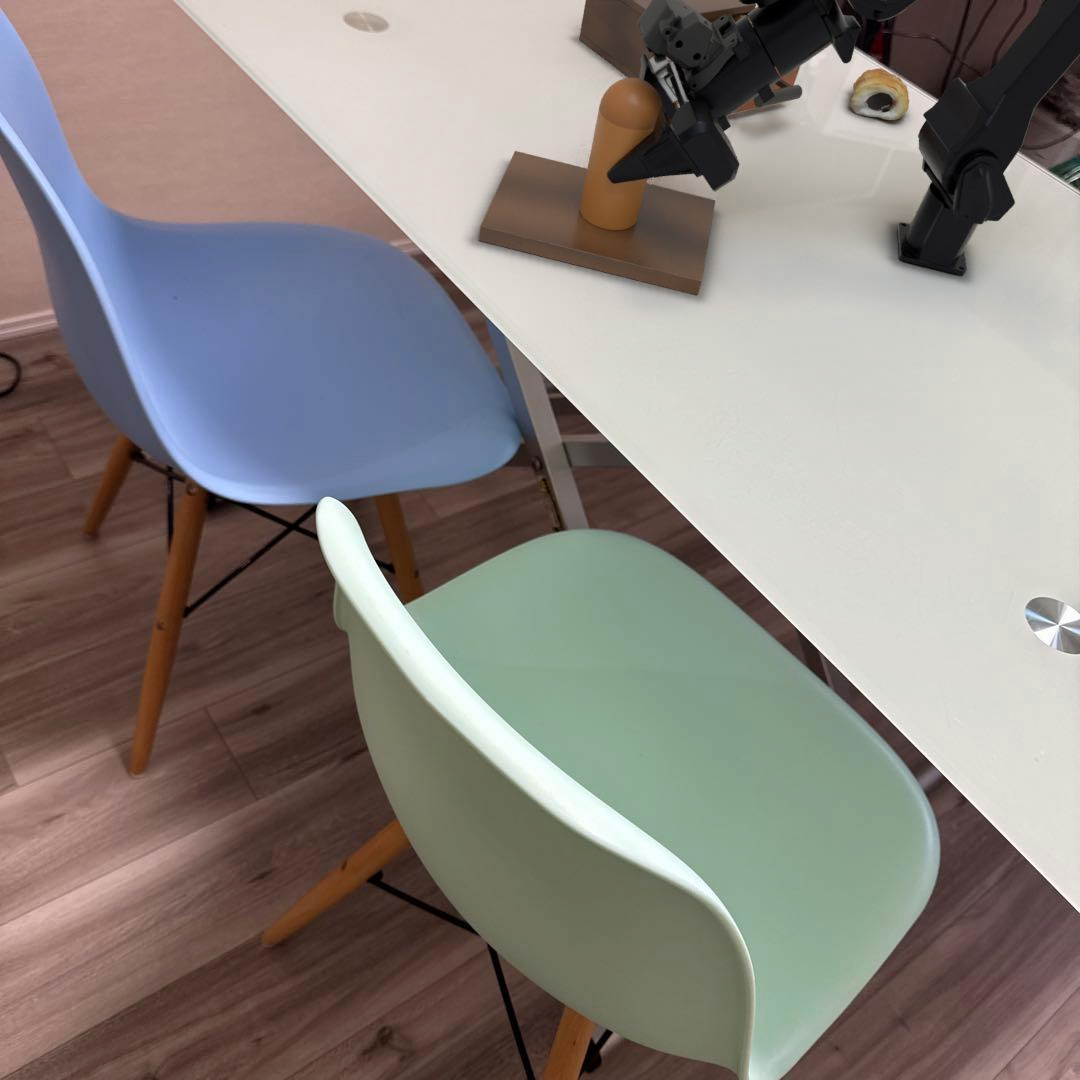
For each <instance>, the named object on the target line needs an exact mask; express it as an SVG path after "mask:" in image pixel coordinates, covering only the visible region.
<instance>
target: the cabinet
mask: <svg viewBox="0 0 1080 1080" xmlns="http://www.w3.org/2000/svg"><path fill="white" fill-rule="evenodd" d="M651 1H652V0H585V3H584V7H583V14H582V20H581V26H580V31H579V32H580V33H579V37H578V41H580V42H582V43H583V44H584V45H586V46H587V47H588V48H589V49H591V50H592V51H593V52H595V53H596V54H598V56H600V57H601V58H603V60H605V61H606V62H608V63H609V64H610V65H611V66H613V67H614V68H615V69H617V70H618V71H620V72H621V73H622V74H623V75H624V76H626V77H627V78H639V76H640V70H641V57H642V55H643V53H644V54H645V55H646V57H647V58H648V60H649V59H651V58H652V57H653V56H655V55H654V53H653V52H650V53H649V51H648V50H647V48H646V46H645V43H644V41H643V39H642V35H641V34H642V33H643V32H642V30H641V27H639V26H638V25H637V21H638V20H639V18H640V17H641V15H642V14H643V12H644V11H645V10H646V8H647V7H648V5H649V4H650V2H651ZM682 1H684V2H685V3H686V4H688V5H689V6H691V7H692V8H693V9H695V10H696V11H697V12H699V13H700V14H701V15H702V16H703V17H704V18H705V19H710V18H716V17H721V16H723V15H727V16H728V15H729V14H731V15H734V14H740V13H742V14H743V15H747V14H748V13H750V12H751V11H752V10H754V9H755V8H756V7H757V4H750V5H747V4H742V3H741V2H739V0H682ZM747 17H748V15H747ZM748 18H749V17H748Z"/></svg>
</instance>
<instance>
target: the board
mask: <svg viewBox="0 0 1080 1080" xmlns="http://www.w3.org/2000/svg"><path fill="white" fill-rule="evenodd" d="M587 168H588V167H583V166H578V165H574V164H570V163H567V162H563V161H559V160H554V159H550V158H546V157H543V156H538V155H535V154H534V155H533V154H530V153H526V152H522V151H518V150H514V152H513V154H512V156H511V158H510V160H509V163H508V165H507V167H506V170H505V172H504V173H503V175H502V178H501V180H500V182H499V184H498V187H497V188H496V192H495V193H494V196H493V197H492V200H491V202H490V204H489V206H488V208H487V211H486V212H485V215H484V217H483V220H482V221H481V224H480V226H479V235H478V241H479V242H483V243H487V244H491V245H494V246H499V247H502V248H507V249H510V250H514V251H517V252H518V251H519V252H523V253H526V254H529V255H530V254H531V255H535V256H538V257H544V258H546V259H551V260H555V261H559V262H563V263H568V264H572V265H575V266H579V267H582V268H587V269H590V270H595V271H599V272H603V273H607V274H611V275H615V276H619V277H622V278H626V279H631V280H635V281H639V282H644V283H647V284H650V285H651V284H652V285H654V286H659V287H664V288H666V289H667V288H668V289H671V290H675V291H678V292H679V291H680V292H683V293H688V294H692V295H695V296H698V295H699V292H700V289H701V286H702V282H703V278H704V271H705V265H706V260H707V253H708V247H709V241H710V237H711V229H712V222H713V218H714V213H715V212H714V211H715V205H716V199H712V198H708V197H704V196H700V195H696V194H691V193H688V192H684V191H681V190H675V189H672V188H668V187H663V186H659V185H656V184H651V183H648V182H646V186H645V190H644V194H643V198H642V202H641V206H640V210H639V215H638V219H637V222H636V223H635V224H634V225H633V226H632V227H630V228H628V229H624V230H607V229H603V228H600V227H597V226H595V225H593V224H591V223H589V222H588V221H586V220H585V219H584V218H583V216H582V215H581V213H580V204H581V199H582V194H583V189H584V183H585V178H586V173H587Z"/></svg>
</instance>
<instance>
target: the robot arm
mask: <svg viewBox="0 0 1080 1080" xmlns="http://www.w3.org/2000/svg"><path fill="white" fill-rule="evenodd" d="M917 1H918V0H847V2H848V3H849V5H850V6H851V7H852V9H853V10H854V11H855V13H857V14H858V15H859V16H860V17H862V18H863V19H867V20H874V21H876V22H884V21H887V20H890V19H892V18H894V17H896V16H899V15H900V14H902V13H903V12H904V11H905V10H907V9H909V7H910V6H912V5H913V4H914V3H916V2H917ZM739 2H741V3H742V4H747V5H750V4H756V7H755V9H754V10H752V11H751V12H750V13H748V14H747V15H748V17H749V19H750V21H751V22H752V24H753V26H754V27H753V26H752V24H751V22H750V21H749V19H748V17H747V15H745V16H744V17H743V18H741V19H740V20H738V21H737V22H736V23H735V21H734V19H733V18H732V16H731V14H729V15H728V16H727V15H723V16H721V17H720V18H719V19H717V20H716V21H714V22H713V23H711V22H709V21H708V20H707V19H705V18H704V17H703V16H702V15H701V14H700V13H699V12H697V11H696V10H695V9H693V8H692V7H691V6H689V5H688V4H686V3H685V2H684V1H682V0H652V1H651V2H650V4H649V5H648V7H647V8H646V10H645V11H644V12H643V14H642V15H641V17H640V18H639V20H638V21H637V25H638V26H639V27H641V30H642V32H643V33H642V34H641V35H642V39H643V41H644V43H645V46H646V48H647V50H648V51H649V53H650V52H653V53H654V55H655V56H653V57H652V58H651V59H649V60H648V58H647V57H646V55H645V54H644V53H643V55H642V57H641V70H640V76H639V79H642V80H644V81H646V82H648V83H649V84H651V85H652V86H653V87H654V88H655V90H656V91H657V92H658V94H659V96H660V99H661V102H662V106H661V107H660V109H659V113H658V116H657V120H656V123H655V127H654V130H653V131H652V132H651V133H650V134H649V135H648V136H647V137H646V138H644V139H643V140H642V141H641V142H640V143H639V144H637V145H636V146H635V147H634V148H633V149H632V150H631V151H629V152H628V153H627V154H626V155H625V156H624V157H623V158H621V159H620V160H619V161H618V162H617V163H616V164H615V165H614V166H613V167H612V168H611V169H610V170H609V171H608V172H607V177H608V178H609V180H610V181H611V182H612V183H613V184H616V183H622V182H629V181H635V180H642V179H647V180H648V179H655V178H662V177H673V176H685V175H694V176H695V178H699V177H702V178H704V180H705V181H706V183H707V184H708V185H709V187H710V188H711V190H712V192H714V193H716V192H717V191H719V190H720V189H721V188H724V187H725V186H726V185H728V184H730V183H731V182H732V181H734V180H735V179H736V177H737V174H738V170H739V168H740V164H741V163H740V161H739V158H738V156H737V154H736V152H735V149H734V146H733V144H732V142H731V140H730V139H729V137H728V136H727V134H726V133H725V132H726V131H727V130H729V129H730V128H731V127H732V126H731V123H730V120H729V119H728V117H729V116H731V115H732V114H734V113H733V112H735V111H736V110H738V109H739V108H741V107H742V106H743V105H745V104H746V103H748V102H749V101H751V100H752V99H753V98H755V97H756V96H758V95H759V96H760V97H761V99H762V101H763V102H764V103H766V102H767V101H769V100H770V99H772V98H773V97H775V95H774V93H773V91H772V89H771V86H772V85H774V84H775V83H776V82H778V81H779V80H781V78H780V76H781V77H782V78H784V77H785V76H787V75H788V74H789V73H791V72H792V71H794V70H795V69H797V68H798V67H800V68H801V66H802V65H804V64H806V63H807V62H809V60H811V59H813V58H814V57H815V56H817V55H818V54H820V53H822V52H823V51H824V50H825V49H827V48H828V47H829V46H832V47H833V49H834V51H835V52H836V53H837V56H838V57H839V59H840V60H841V62H842V64H849V63H851V61H852V59H853V54H854V50H855V46H856V41H857V39H858V37H859V35H860V33H861V31H862V27H861V25H860V23H859V22H858V21H857V19H856V17H855V16H853V15H845V14H843V12H842V10H841V8H840V5H839V4H838V2H837V0H739ZM723 31H724V32H723ZM1079 56H1080V0H1046V2H1045V3H1044V5H1043V6H1042V7H1041V8H1040V9H1039V11H1038V12H1037V13H1036V14H1035V15H1034V17H1033V18H1032V19H1031V21H1030V22H1029V23H1028V24H1027V26H1026V27H1025V28H1024V29H1023V31H1021V33H1020V34H1019V35H1018V37H1017V38H1016V39H1015V41H1014V42H1013V43H1012V44H1011V45H1010V46H1009V48H1008V49H1007V50H1006V51H1005V53H1004V54H1003V55H1002V56H1001V58H999V60H998V61H997V63H996V64H995V65H994V67H992V69H990V70H989V71H988V72H987V73H985V74H984V75H982V76H980V77H978V78H975V79H974V80H972V81H970V82H968V83H967V84H966V83H965V81H963V80H962V79H961V78H960V77H955V78H953V79H952V80H951V82H949V83H948V85H946V88H945V90H944V91H943V93H942V94H941V96H940V97H939V98H938V100H937V102H936V103H934V105H932V107H930V108H929V109H928V110H927V111H925V112H924V113H923V114H922V116H923V118H924V119H925V121H924V123H923V124H922V126H921V127H920V129H919V132H918V135H917V138H918V150H919V152H920V154H921V157H922V163H921V164H922V165H921V169H922V172H924V173H925V174H926V175H927V177H928V178H929V180H930V181H931V182H930V184H929V186H928V188H927V190H926V192H925V194H924V196H923V198H922V200H921V202H920V204H919V206H918V208H917V210H916V212H915V214H914V216H913V218H912V220H911V221H910V223H908V222H904V221H900V222H899V223H898V225H897V227H896V228H897V240H898V241H897V243H898V255H899V259H900V260H901V261H903V262H907V263H911V264H915V265H920V266H923V267H927V268H932V269H935V270H940V271H944V272H947V273H948V272H949V273H952V274H955V275H959V276H964V275H965V274H966V272H967V269H968V268H967V261H966V255H965V249H966V247H967V245H968V244H969V242H970V240H971V238H972V236H973V235H974V233H975V231H976V230H977V228H978V226H979V225H983V224H984V223H985V222H987V221H988V222H999V221H1000V220H1002V218H1003V217H1004V216H1005V215H1006V214H1007V213H1008V212H1009V211H1010V210H1011V209H1012V208H1013V207H1014V206H1015V204H1016V201H1015V198H1014V196H1013V194H1012V191H1011V188H1010V187H1009V184H1008V181H1007V179H1006V176H1005V174H1004V173H1005V172H1006V171H1007V169H1008V168H1009V166H1010V164H1012V162H1013V160H1014V159H1015V158H1016V156H1017V154H1018V153H1019V151H1020V150H1021V149H1022V148H1023V147H1022V146H1023V145H1024V141H1025V138H1026V135H1027V132H1028V129H1029V126H1030V123H1031V120H1032V117H1033V114H1034V111H1035V109H1036V107H1037V105H1038V104H1039V103H1040V102H1041V101H1042V99H1043V98H1044V97H1045V96H1046V95H1047V93H1049V91H1050V90H1051V89H1052V88H1053V87H1054V85H1056V83H1057V82H1058V81H1059V80H1060V78H1061V77H1062V76H1063V75H1064V74H1065V73H1066V72H1067V70H1068V69H1069V68H1070V67H1071V66H1072V65H1073V64H1074V62H1075V61H1077V59H1078V58H1079ZM775 67H776V68H777V70H778V72H779V74H780V76H779V74H778V72H777V70H776V68H775ZM677 102H678V103H677Z"/></svg>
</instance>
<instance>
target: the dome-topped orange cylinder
mask: <svg viewBox="0 0 1080 1080" xmlns="http://www.w3.org/2000/svg"><path fill="white" fill-rule="evenodd" d="M661 106H662V102H661V99H660V96H659V94H658V92H657V91H656V90H655V88H654V87H653V86H652V85H651V84H649V83H648V82H646V81H644V80H642V79H639V78H629V77H625V78H622V79H619V80H618V81H615V82H614V83H612V84H610V86H609V87H608V88H607V89H606V91H605V92H604V93H603V95H602V97H601V100H600V103H599V106H598V112H597V115H596V122H595V127H594V131H593V137H592V142H591V148H590V153H589V158H588V164H587V167H586V168H587V173H586V178H585V183H584V189H583V194H582V199H581V204H580V213H581V215H582V216H583V218H584V219H585V220H586V221H588V222H589V223H591V224H593V225H595V226H597V227H600V228H603V229H607V230H624V229H628V228H630V227H632V226H633V225H634V224H635V223H636V222H637V219H638V215H639V210H640V206H641V202H642V198H643V194H644V190H645V186H646V183H648V182H647V181H648V179H642V180H635V181H629V182H622V183H616V184H613V183H612V182H611V181H610V180H609V178H608V177H607V172H608V171H609V170H610V169H611V168H612V167H613V166H614V165H615V164H616V163H617V162H618V161H619V160H620V159H621V158H623V157H624V156H625V155H626V154H627V153H628V152H629V151H631V150H632V149H633V148H634V147H635V146H636V145H637V144H639V143H640V142H641V141H642V140H643V139H644V138H646V137H647V136H648V135H649V134H650V133H651V132H652V131H653V130H654V127H655V123H656V120H657V116H658V113H659V109H660V107H661Z"/></svg>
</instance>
